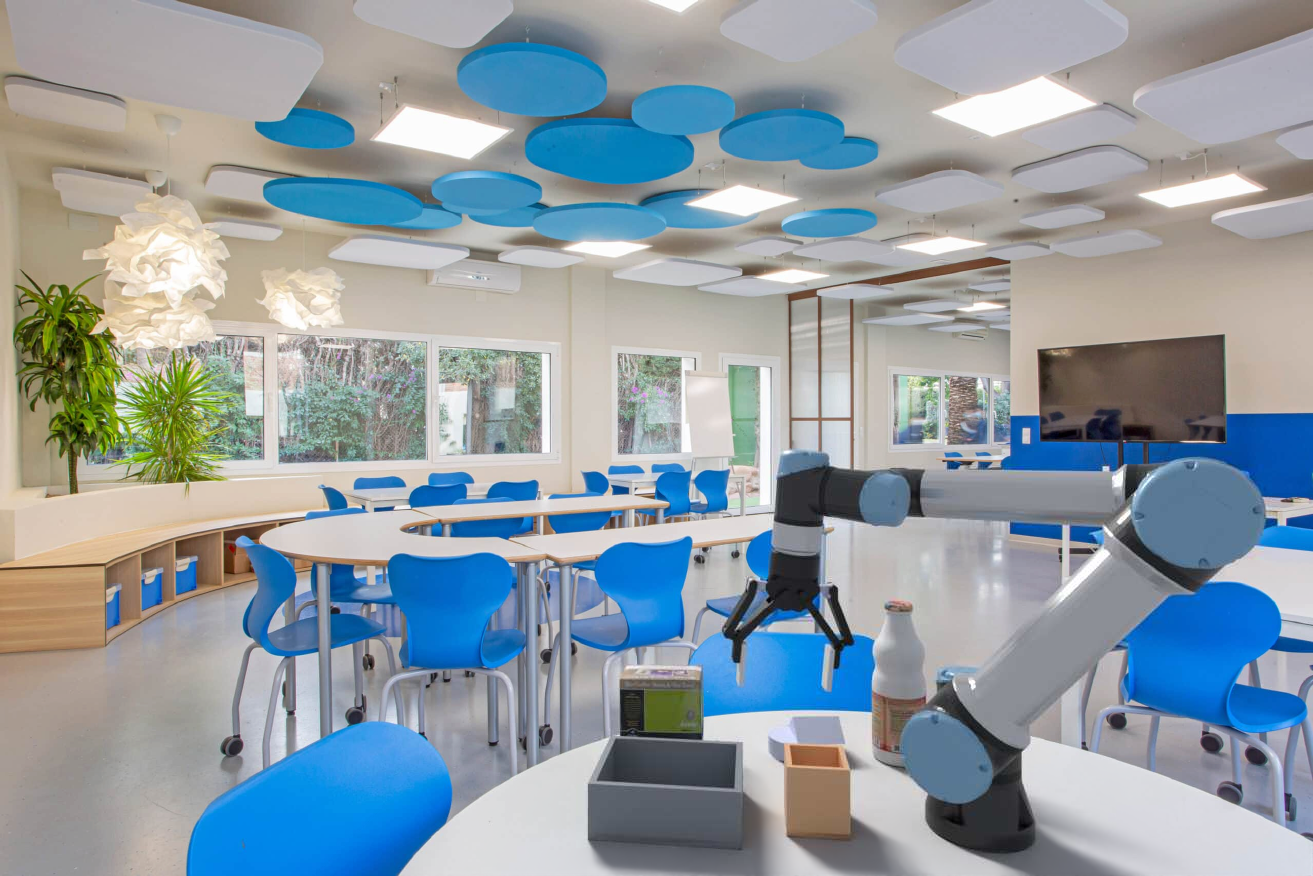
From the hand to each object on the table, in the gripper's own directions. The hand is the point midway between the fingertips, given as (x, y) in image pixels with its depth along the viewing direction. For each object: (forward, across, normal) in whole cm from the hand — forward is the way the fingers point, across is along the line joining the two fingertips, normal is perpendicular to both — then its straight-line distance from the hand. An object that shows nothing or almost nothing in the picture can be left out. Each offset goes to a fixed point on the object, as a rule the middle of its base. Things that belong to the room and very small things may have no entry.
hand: (783, 686), depth 116 cm
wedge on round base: (+20, -10, -21) cm, 31 cm away
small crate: (+19, -6, +5) cm, 20 cm away
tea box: (+22, +15, -24) cm, 36 cm away
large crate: (+21, +16, +1) cm, 26 cm away
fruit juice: (+19, -27, -18) cm, 38 cm away
